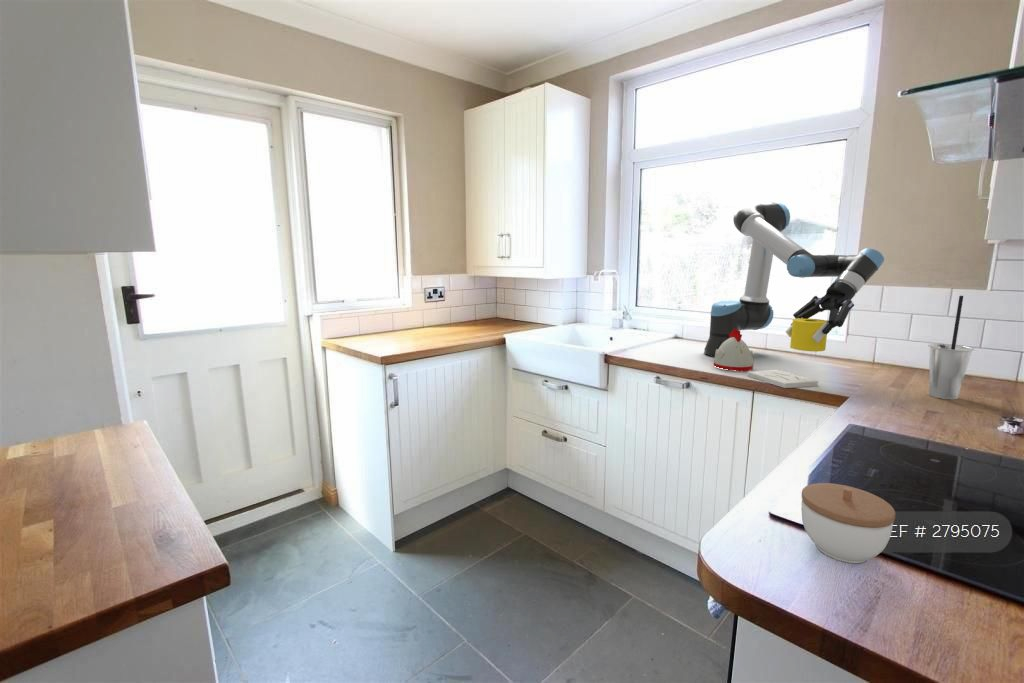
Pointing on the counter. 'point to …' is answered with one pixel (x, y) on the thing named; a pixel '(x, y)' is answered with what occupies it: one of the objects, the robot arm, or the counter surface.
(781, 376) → the marked board
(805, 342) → the tape roll
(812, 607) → the counter surface
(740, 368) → the kitchen timer
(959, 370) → the cup with straw
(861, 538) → the lidded jar
